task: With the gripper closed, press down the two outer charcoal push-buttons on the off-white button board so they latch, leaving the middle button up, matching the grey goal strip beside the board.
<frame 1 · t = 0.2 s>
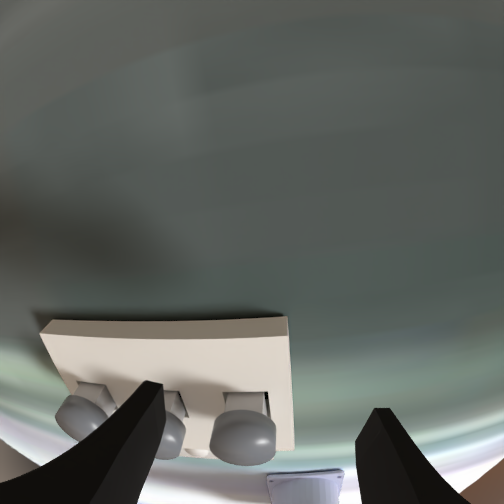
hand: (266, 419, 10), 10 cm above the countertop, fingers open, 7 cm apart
board: (172, 385, 23), on the countertop
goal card: (197, 447, 26), on the countertop
button a: (245, 425, 19), point 4 cm above the countertop, slide at 0.0 cm
button c: (88, 411, 20), point 4 cm above the countertop, slide at 0.0 cm
button b: (158, 421, 19), point 4 cm above the countertop, slide at 0.0 cm
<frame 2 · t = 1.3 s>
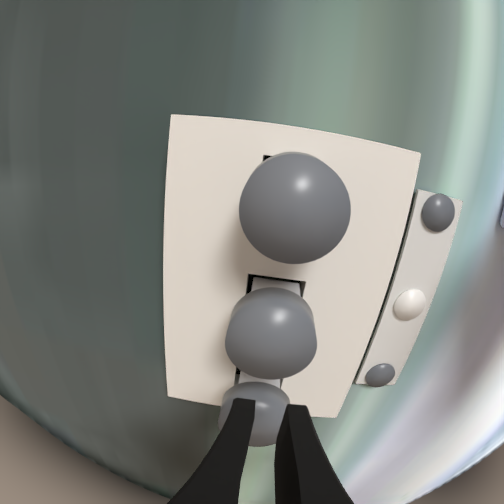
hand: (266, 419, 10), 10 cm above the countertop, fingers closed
board: (273, 285, 19), on the countertop
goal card: (408, 301, 19), on the countertop
button a: (293, 199, 13), point 4 cm above the countertop, slide at 0.0 cm
button c: (256, 401, 18), point 4 cm above the countertop, slide at 0.0 cm
button b: (272, 321, 16), point 4 cm above the countertop, slide at 0.0 cm
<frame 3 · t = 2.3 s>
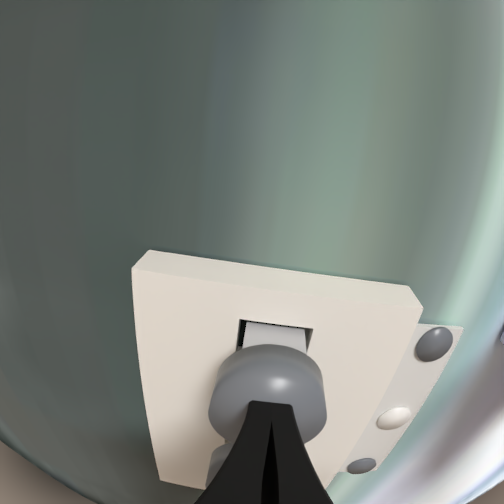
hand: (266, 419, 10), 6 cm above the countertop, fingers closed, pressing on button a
board: (256, 406, 17), on the countertop
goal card: (392, 414, 17), on the countertop
button a: (269, 380, 12), point 4 cm above the countertop, slide at 0.0 cm, touching gripper
button b: (251, 458, 14), point 4 cm above the countertop, slide at 0.0 cm
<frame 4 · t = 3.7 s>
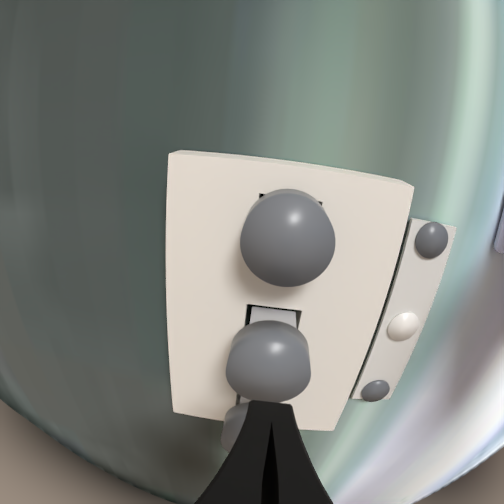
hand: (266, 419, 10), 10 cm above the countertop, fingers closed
board: (271, 310, 20), on the countertop
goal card: (401, 323, 20), on the countertop
button a: (287, 229, 15), point 2 cm above the countertop, slide at 1.5 cm
button c: (256, 419, 19), point 4 cm above the countertop, slide at 0.0 cm
button b: (269, 349, 16), point 4 cm above the countertop, slide at 0.0 cm
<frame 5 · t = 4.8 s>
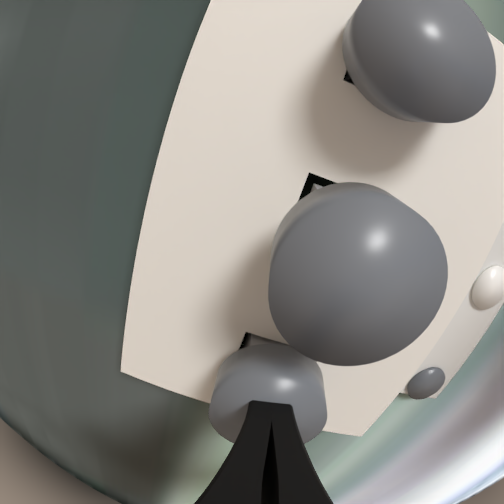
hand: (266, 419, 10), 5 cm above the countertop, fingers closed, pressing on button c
board: (327, 216, 12), on the countertop
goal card: (486, 283, 12), on the countertop
button a: (405, 58, 7), point 2 cm above the countertop, slide at 1.5 cm
button c: (270, 379, 12), point 3 cm above the countertop, slide at 1.2 cm, touching gripper
button b: (346, 255, 8), point 4 cm above the countertop, slide at 0.0 cm
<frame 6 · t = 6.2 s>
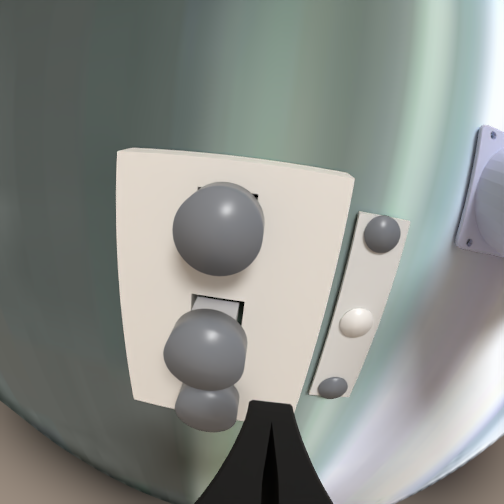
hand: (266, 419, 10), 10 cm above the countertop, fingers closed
board: (221, 302, 20), on the countertop
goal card: (355, 319, 20), on the countertop
button a: (223, 220, 16), point 2 cm above the countertop, slide at 1.5 cm
button c: (210, 392, 21), point 2 cm above the countertop, slide at 1.5 cm
button b: (210, 337, 17), point 4 cm above the countertop, slide at 0.0 cm
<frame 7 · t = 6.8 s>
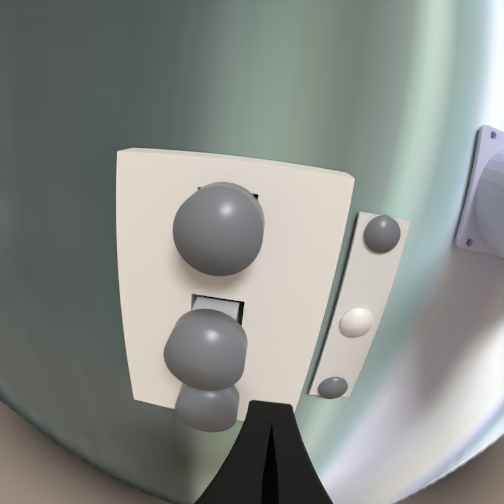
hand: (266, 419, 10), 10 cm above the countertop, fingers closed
board: (221, 302, 20), on the countertop
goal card: (355, 319, 20), on the countertop
button a: (224, 221, 16), point 2 cm above the countertop, slide at 1.5 cm
button c: (210, 392, 21), point 2 cm above the countertop, slide at 1.5 cm
button b: (210, 337, 17), point 4 cm above the countertop, slide at 0.0 cm
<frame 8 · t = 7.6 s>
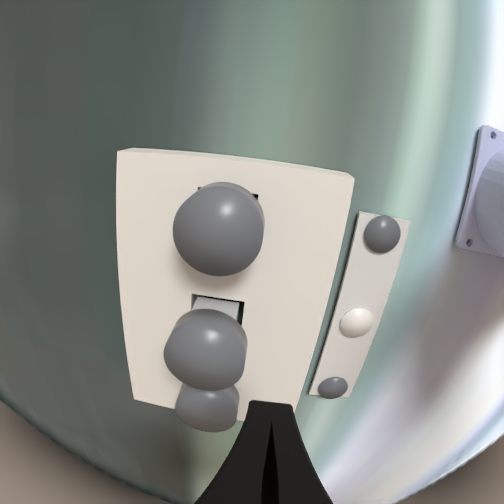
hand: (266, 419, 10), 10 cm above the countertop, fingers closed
board: (221, 302, 20), on the countertop
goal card: (355, 319, 20), on the countertop
button a: (224, 221, 16), point 2 cm above the countertop, slide at 1.5 cm
button c: (210, 392, 21), point 2 cm above the countertop, slide at 1.5 cm
button b: (210, 337, 17), point 4 cm above the countertop, slide at 0.0 cm
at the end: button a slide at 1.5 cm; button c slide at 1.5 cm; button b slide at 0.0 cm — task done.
